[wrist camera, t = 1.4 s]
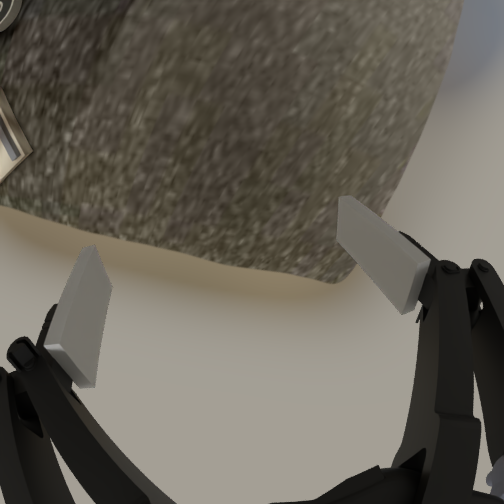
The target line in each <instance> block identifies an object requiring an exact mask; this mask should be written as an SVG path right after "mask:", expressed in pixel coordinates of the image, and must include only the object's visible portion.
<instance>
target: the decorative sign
mask: <svg viewBox="0 0 504 504" xmlns="http://www.w3.org/2000/svg"><path fill="white" fill-rule="evenodd" d="M21 5H22V0H0V32H2V31H3V30H5V29H6V28H7V27H8V26H9V25H10V24H11V23H12V22H13V21H14V20H15V18H16V17H17V15H18V13H19V11H20V8H21Z"/></svg>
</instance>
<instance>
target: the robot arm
mask: <svg viewBox="0 0 504 504" xmlns="http://www.w3.org/2000/svg"><path fill="white" fill-rule="evenodd" d="M336 240H337V241H338V242H339V244H340V245H341V246H342V247H343V248H344V249H345V250H346V251H347V252H348V253H349V254H350V256H351V257H352V258H353V259H354V260H355V261H356V262H357V263H358V264H359V266H360V267H361V268H362V269H363V270H364V271H365V272H366V273H367V274H368V276H369V277H370V278H371V279H372V280H373V282H374V283H375V284H376V285H377V286H378V287H379V288H380V290H381V291H382V292H383V293H384V294H385V295H386V297H387V298H388V299H389V300H390V301H391V303H392V304H393V305H394V306H395V307H396V309H397V310H398V311H399V312H400V314H401V315H403V314H406V313H408V312H410V311H413V310H414V309H415V306H416V303H417V301H418V300H419V301H420V302H421V303H422V304H423V305H422V307H421V310H420V312H419V315H418V318H417V320H416V323H418V321H419V319H420V328H419V341H418V352H417V362H416V370H415V378H414V385H413V391H412V398H411V403H410V408H409V414H408V418H407V423H406V428H405V432H404V436H403V440H402V444H401V446H400V448H399V450H398V452H397V453H396V455H395V458H394V460H393V463H392V466H391V468H383V469H380V467H379V465H377V466H375V467H373V468H371V469H368V470H366V471H364V472H362V473H360V474H357V475H355V476H353V477H351V478H348V479H346V480H345V481H343V482H342V483H340V484H339V485H337V486H336V487H334V488H333V489H331V490H330V491H328V492H327V493H325V494H323V495H322V496H320V497H318V498H317V499H314V500H309V501H298V502H280V503H270V504H504V285H503V283H502V281H501V279H500V278H499V276H498V275H497V273H496V271H495V269H494V268H493V266H492V265H491V264H490V263H488V262H487V261H485V260H483V259H474V260H473V261H472V264H471V266H470V268H468V269H461V268H460V267H459V266H458V265H457V264H455V263H454V262H451V261H448V260H441V261H439V260H437V259H436V258H435V257H434V256H433V255H432V254H430V253H429V252H428V251H427V250H426V249H425V248H423V247H421V245H420V244H419V243H418V242H416V241H415V240H414V239H413V238H411V237H410V236H409V235H407V234H405V233H403V232H401V231H399V232H398V231H397V230H395V229H394V228H393V227H391V226H390V225H389V224H388V223H387V222H385V221H384V220H383V219H382V218H380V217H379V216H378V215H376V214H375V213H374V212H373V211H371V210H370V209H369V208H367V207H366V206H365V205H363V204H362V203H361V202H359V201H358V200H357V199H355V198H354V197H352V196H351V195H348V196H342V197H339V205H338V223H337V238H336ZM111 291H112V284H111V282H110V280H109V277H108V275H107V273H106V271H105V268H104V266H103V264H102V261H101V259H100V256H99V254H98V251H97V249H96V246H95V245H92V246H88V247H84V248H83V249H82V250H81V253H80V254H79V257H78V259H77V261H76V263H75V265H74V267H73V270H72V272H71V274H70V276H69V279H68V281H67V283H66V286H65V288H64V290H63V293H62V295H61V298H60V300H59V303H58V304H54V305H53V306H52V308H51V309H50V310H49V312H48V313H47V316H46V318H45V323H44V324H43V326H42V330H41V332H40V335H39V338H38V340H37V343H36V346H35V345H34V344H33V343H32V342H31V340H30V339H29V338H28V337H25V336H24V337H20V338H18V339H16V340H15V341H14V342H13V343H12V344H11V345H10V347H9V349H8V351H7V360H8V361H9V362H10V363H11V364H12V365H13V366H14V368H16V371H13V372H11V373H8V372H7V371H6V370H5V369H4V368H3V367H0V486H1V490H2V493H3V497H4V500H5V503H6V504H75V502H74V500H73V498H72V495H71V493H70V491H69V489H68V486H67V484H66V482H65V479H64V477H63V474H62V472H61V469H60V466H59V464H58V461H57V458H56V455H55V453H54V449H53V446H52V443H51V440H52V442H53V443H54V445H55V447H56V448H57V450H58V452H59V453H60V455H61V456H62V458H63V459H64V461H65V463H66V464H67V466H68V467H69V469H70V470H71V472H72V473H73V474H74V476H75V477H76V479H77V480H78V481H79V483H80V484H81V485H82V487H83V488H84V490H85V491H86V492H87V493H88V495H89V496H90V497H91V498H92V500H93V501H94V502H95V503H96V504H176V503H175V502H174V501H173V500H172V499H170V498H169V497H168V496H167V495H166V494H164V493H163V492H162V491H161V490H160V489H159V488H158V487H157V486H155V485H154V484H153V483H152V482H151V481H150V480H149V479H148V478H147V477H146V476H145V475H144V474H143V473H142V472H141V471H140V470H139V469H138V468H137V467H136V466H135V465H134V464H133V463H132V462H131V461H130V460H129V459H128V458H127V457H126V456H125V454H124V453H123V452H122V451H121V450H120V449H119V448H118V447H117V446H116V445H115V443H114V442H113V441H112V440H111V439H110V437H109V436H108V435H107V434H106V433H105V432H104V430H103V429H102V428H101V427H100V425H99V424H98V423H97V422H96V420H95V419H94V418H93V416H92V415H91V414H90V413H89V411H88V410H87V408H86V407H85V406H84V404H83V403H82V401H81V400H80V399H79V397H78V396H77V394H76V393H75V392H74V391H73V390H72V389H71V387H72V382H74V383H75V384H76V385H77V386H78V387H79V388H95V383H96V374H97V367H98V359H99V353H100V347H101V341H102V335H103V330H104V324H105V319H106V314H107V309H108V305H109V300H110V296H111ZM481 302H483V309H481V307H480V304H481ZM474 374H475V378H476V382H477V387H478V391H479V396H480V401H481V406H482V412H483V418H484V425H485V432H486V440H487V446H488V452H489V456H490V460H491V463H492V467H493V469H492V471H491V472H490V473H489V474H488V475H487V477H486V483H487V485H488V486H492V489H491V493H490V494H487V493H483V492H479V491H475V490H473V485H474V481H475V475H476V470H477V463H478V456H479V449H480V439H481V422H480V420H479V419H478V418H475V417H474V416H473V399H474V398H473V397H474V395H473V394H474ZM49 436H50V437H49ZM50 438H51V440H50Z"/></svg>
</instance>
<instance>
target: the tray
mask: <svg viewBox="0 0 504 504" xmlns="http://www.w3.org/2000/svg"><path fill="white" fill-rule="evenodd" d="M32 152H33V150H32V148H31V146H30V145H29V143H28V141H27V139H26V137H25V135H24V133H23V131H22V130H21V128H20V126H19V124H18V122H17V120H16V118H15V116H14V114H13V111H12V109H11V107H10V105H9V103H8V101H7V99H6V96H5V94H4V92H3V89H2V87H1V86H0V184H1V183H2V182H3V181H4V179H5V178H6V177H7V176H8V175H9V174H10V173H11V172H12V171H13V170H14V169H15V168H16V167H17V166H18V165H19V164H20V163H21V162H22V161H23V160H24V159H25V158H26V157H27V156H28V155H30V154H31V153H32Z"/></svg>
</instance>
